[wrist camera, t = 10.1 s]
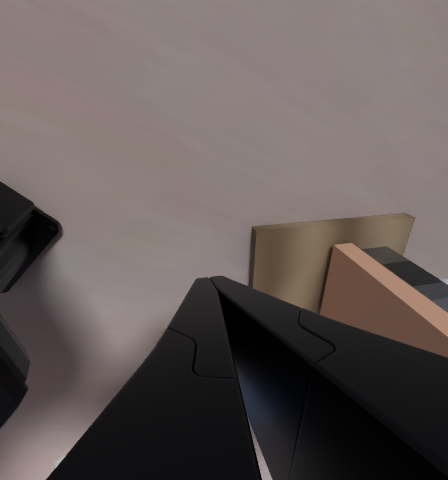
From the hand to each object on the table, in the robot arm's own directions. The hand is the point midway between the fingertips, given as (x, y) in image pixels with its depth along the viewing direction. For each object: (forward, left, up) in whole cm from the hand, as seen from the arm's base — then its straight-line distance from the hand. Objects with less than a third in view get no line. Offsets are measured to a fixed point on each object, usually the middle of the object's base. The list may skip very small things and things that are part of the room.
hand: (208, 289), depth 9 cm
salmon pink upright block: (+6, -18, -11) cm, 22 cm away
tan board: (+3, -15, -12) cm, 19 cm away
